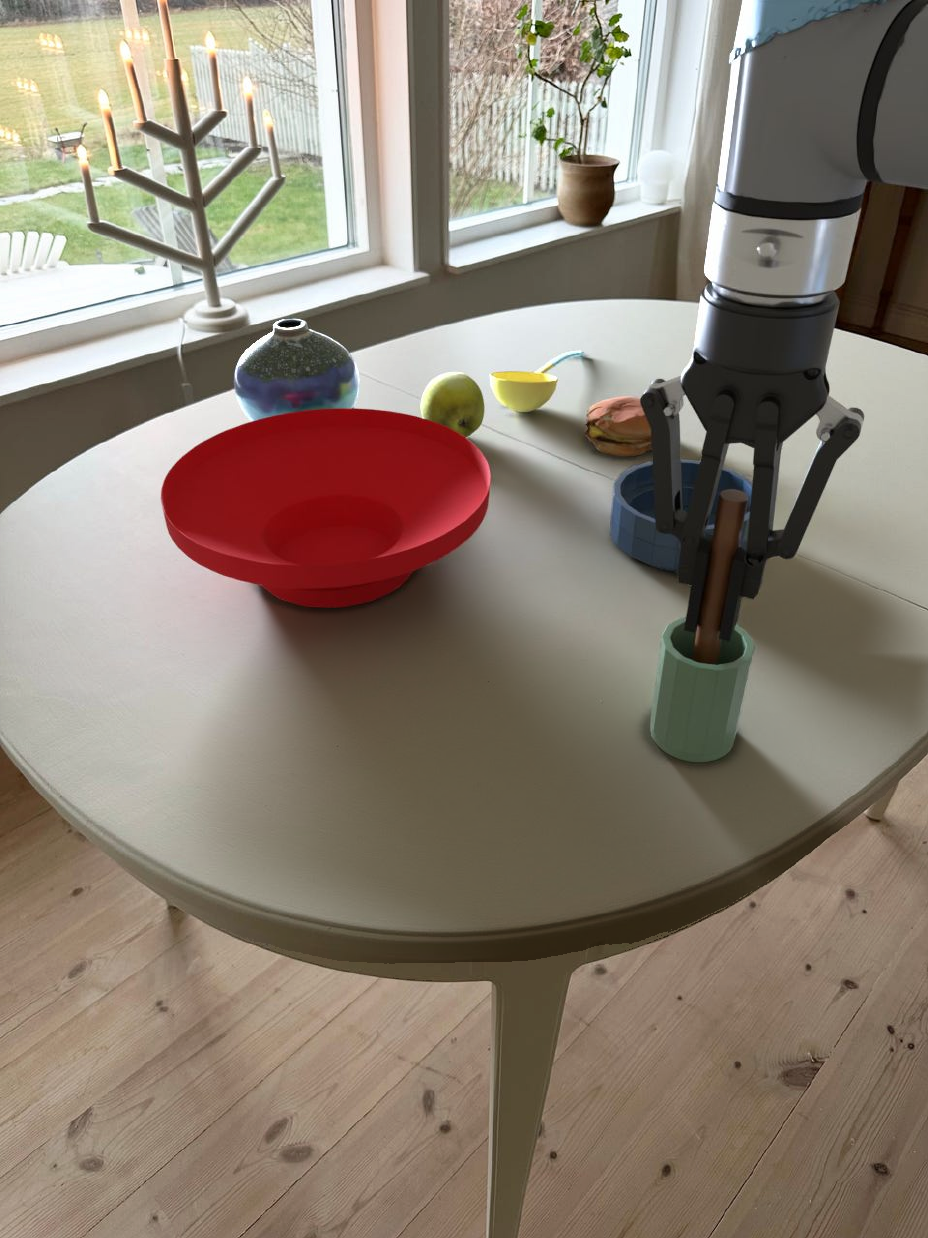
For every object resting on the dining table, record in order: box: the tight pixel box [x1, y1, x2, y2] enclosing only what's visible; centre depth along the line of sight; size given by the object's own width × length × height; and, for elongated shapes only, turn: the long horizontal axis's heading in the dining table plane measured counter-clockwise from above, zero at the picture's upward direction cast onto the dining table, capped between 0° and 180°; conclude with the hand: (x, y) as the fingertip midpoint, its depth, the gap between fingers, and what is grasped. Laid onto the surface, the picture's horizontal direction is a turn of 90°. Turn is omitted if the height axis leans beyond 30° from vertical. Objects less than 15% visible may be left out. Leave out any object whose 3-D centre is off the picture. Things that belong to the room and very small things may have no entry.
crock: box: [649, 616, 756, 763], centre depth 69 cm, size 6×6×9 cm
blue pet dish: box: [609, 459, 753, 572], centre depth 93 cm, size 14×14×6 cm
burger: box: [583, 395, 652, 458], centre depth 112 cm, size 10×9×5 cm
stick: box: [692, 489, 748, 665], centre depth 65 cm, size 2×3×20 cm, turn 155°
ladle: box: [489, 350, 585, 413], centre depth 127 cm, size 9×26×6 cm, turn 154°
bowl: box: [160, 407, 492, 608], centre depth 89 cm, size 30×30×10 cm
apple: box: [420, 371, 485, 438], centre depth 113 cm, size 8×9×8 cm
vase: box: [233, 318, 360, 422], centre depth 114 cm, size 15×15×13 cm
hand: (711, 624), depth 65 cm, fingers closed on stick, 2 cm apart
